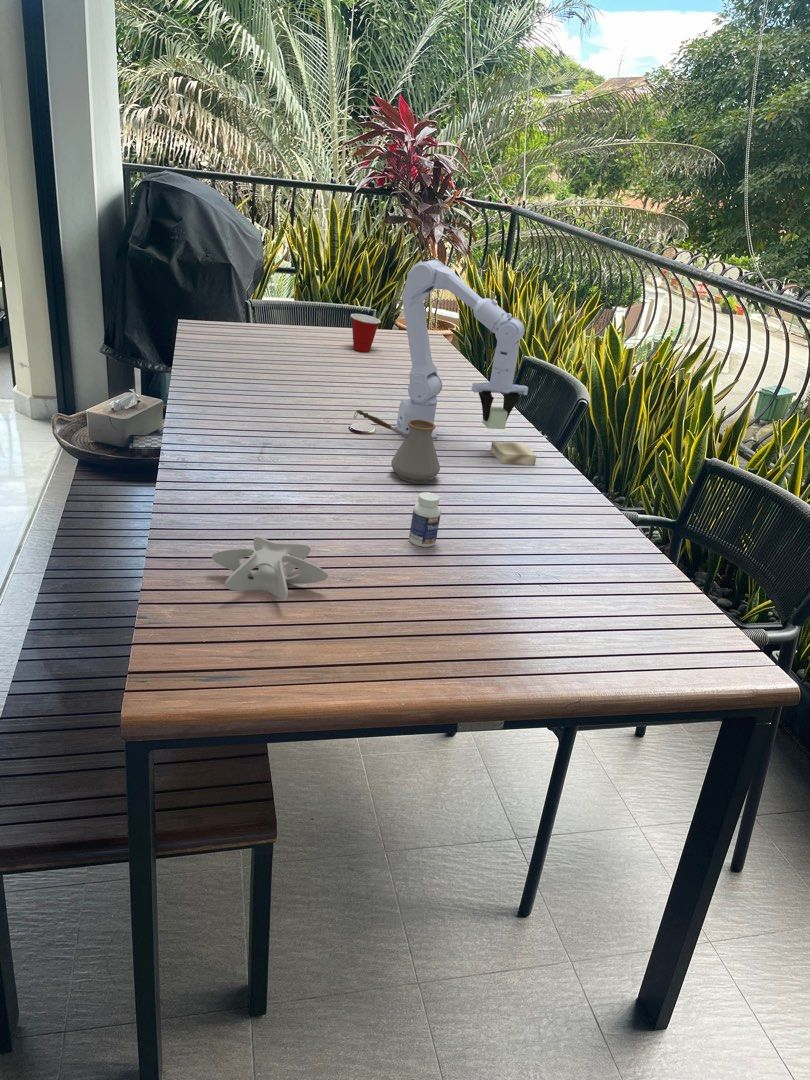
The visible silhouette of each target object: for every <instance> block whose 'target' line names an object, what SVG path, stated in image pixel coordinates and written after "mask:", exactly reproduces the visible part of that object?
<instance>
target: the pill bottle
mask: <svg viewBox="0 0 810 1080" xmlns="http://www.w3.org/2000/svg"><path fill="white" fill-rule="evenodd" d="M417 501H418V503H417V502H416V503H415V505H414V506H413V509H412V516H411V524H410V527H409V528H410V529H409V536H408V539H409V542H410V543H412V544H413V545H414V546H418V547H423V548H429V547H433V546H434V545H436V543H437V537H438V531H439V526H440V520H441V519H440V518H441V515H442V509H441V508H440V506H439V504H440V496H439V495H438V494H436V493H433V492H428V491H427V492H420V493H419V494H418V499H417Z"/></svg>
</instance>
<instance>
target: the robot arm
mask: <svg viewBox="0 0 810 1080" xmlns="http://www.w3.org/2000/svg"><path fill="white" fill-rule="evenodd" d="M406 275H407V276H406V277H407V279H406V282H405V285H404V288H403V290H402V294H401V301H402V307H403V314H404V320H405V327H406V332H407V340H408V346H409V347H408V348H409V354H410V360H411V369H410V371H409V375H408V377H409V384H408V387H407V393H408V396H409V399H401V400H400V402H399V406H398V415H397V419H396V425H395V428H396V429H398V430H400V431H402V432H404V433H407V434H408V433H409V431H410V429H409V426H408V422H409V421H410V420H424V421H428V422H431V423H433V424H434V425H435V417H436V410H437V404H438V398H437V396H438V395H439V394H440V393H441V392H442V389H443V382H442V378H441V377H440V376H439V374H438V369H437V367H436V365H435V364H434V362H433V358H432V350H431V345H430V337H429V329H428V323H427V322H428V321H427V318H426V316H427V315H426V309H425V303H424V302H425V299H426V298H427V297H428V296H429V295H430V293H431V292H432V290H435V289H436V290H446V291H448V292H450V293H451V294H453V295H454V296H455V297H456V298H458V299H460V301H462V302H463V303H464V304H466V305H467V306H468V307H469V308H471V309H472V311H473V317H474V318H475V319H476V320H477V321H479V323H481V324H482V325H484V326H485V327H486V328H487V329H488V330H489V331H490V332H491V333H492V334H495V335H494V336H495V338H496V340H497V342H496V346H495V350H494V351H495V352H494V357H493V363H492V369H491V375H490V380H489V381H488V382H473V383H472V385H471V391H472V392H473V393H478V396H479V400H480V403H481V404H480V405H481V409H482V420H483V419H484V420H485V421H488V418H489V414H490V408H491V406H492V404H493V402H494V399H495V398H494V396H493V395H492V394H496V393H497V394H503V405H502V408H503V409H505V410H506V411H507V412H508V414H507V419H506V422H507V421H508V419H509V416H510V414H511V412H512V411H513V409H514V407H515V406H516V405H517V403H518V402H519V401H520V398H521V397H520V396H519V395H523V396H527V395H528V391H529V386H526V385H520V384H515V383H514V379H515V374H516V373H515V372H516V368H517V367H516V366H517V362H518V356H519V349H520V344H521V341H520V340H521V339H522V338H523V337H524V335H525V332H526V331H525V325H524V323H523V322H522V321H521V319H520V318H518V317H513V314H512V313H510V312H509V313H508V312H506V310H504V309H503V308H502V307H501V306H499V305H498V301H497V300H496V299H494V298H493V299H491V298H489V297H486V298H483V297H481V296H480V295H479V294H478V293H477V292H475V291H474V289H472V288H471V287H470V286H469V285H468V284H467V283H466V282H465V281H463V279H462V278H460V277H459V276H458V274H456V273H455V272H454V271H453V269H451V268H450V267H449V266H448V265H445V264H444V263H443V262H442V261H440V260H439V259H430V260H428V261H420V262H417V263H415V264H414V265H413V266H412V267H411V269H409V271H408V272H407V274H406ZM513 383H514V384H513ZM431 435H432V439H436V438H438V435H437V434H436V433H435V431H433V432H432V434H431Z"/></svg>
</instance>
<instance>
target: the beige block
mask: <svg viewBox="0 0 810 1080" xmlns="http://www.w3.org/2000/svg"><path fill="white" fill-rule="evenodd" d="M490 452H491V453H492V454H493V455H494V457H496V459H497V460H498V461H499V462H500V463H501V464H503V465H524V466H525V465H526V466H529V465H530V466H535V465H536V461H537V454H536V453H535V452H534V451H533V450H532V449H531V448H530V447H529V446H528V445H527V444H526V443H524V442H511V441H509V442H507V441H491V446H490Z"/></svg>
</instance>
